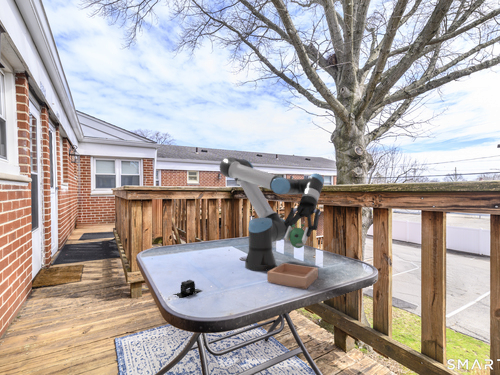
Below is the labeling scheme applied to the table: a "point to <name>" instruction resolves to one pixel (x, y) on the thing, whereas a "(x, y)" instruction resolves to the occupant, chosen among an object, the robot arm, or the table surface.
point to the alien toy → (297, 236)
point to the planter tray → (293, 275)
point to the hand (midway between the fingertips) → (294, 241)
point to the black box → (187, 292)
